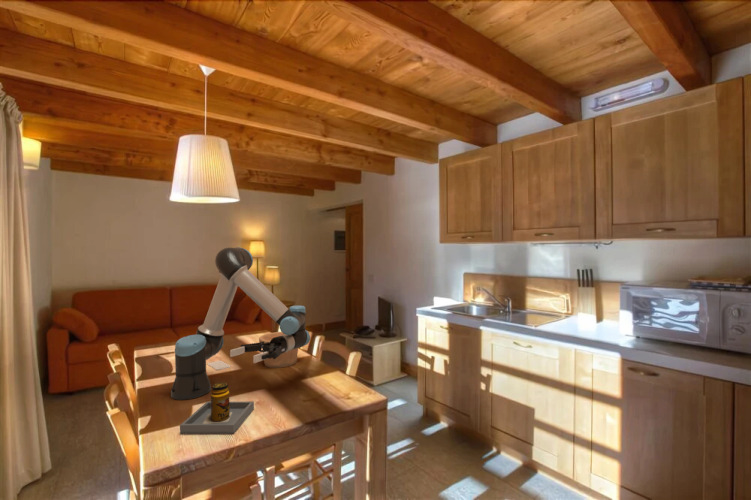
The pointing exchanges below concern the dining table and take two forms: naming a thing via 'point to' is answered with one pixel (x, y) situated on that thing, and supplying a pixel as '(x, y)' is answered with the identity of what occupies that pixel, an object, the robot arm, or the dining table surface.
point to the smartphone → (218, 365)
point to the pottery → (284, 358)
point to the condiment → (219, 404)
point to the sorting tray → (197, 419)
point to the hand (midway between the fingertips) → (241, 356)
